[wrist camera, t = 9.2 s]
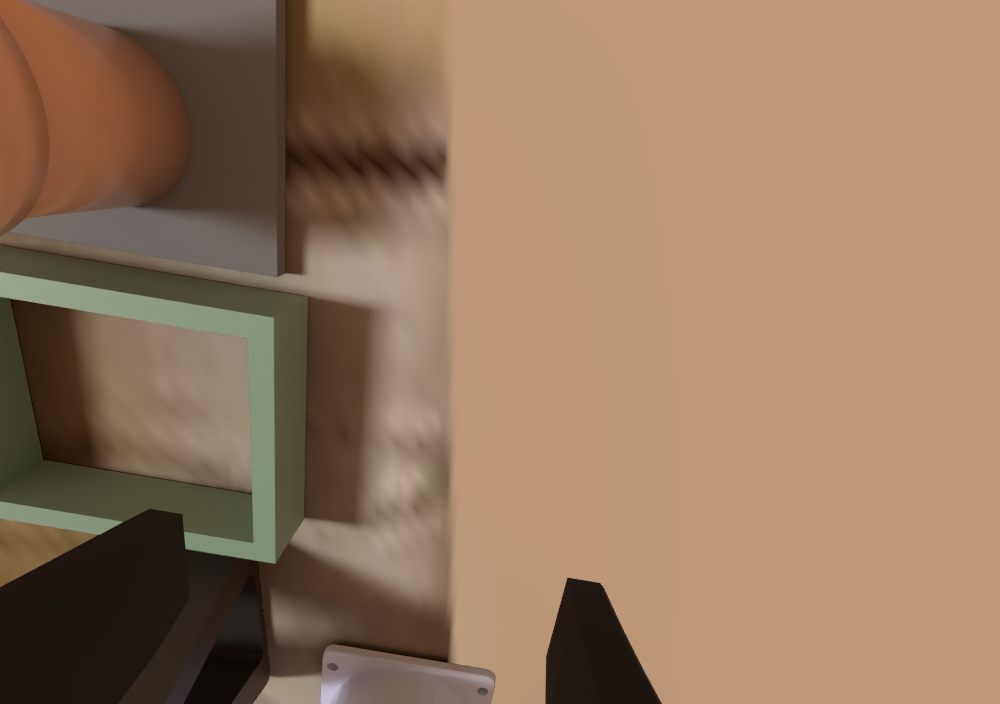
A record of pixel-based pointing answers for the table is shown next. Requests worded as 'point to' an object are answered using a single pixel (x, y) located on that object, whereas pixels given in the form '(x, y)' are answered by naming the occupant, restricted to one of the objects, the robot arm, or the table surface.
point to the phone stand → (211, 639)
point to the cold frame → (120, 496)
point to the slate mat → (203, 136)
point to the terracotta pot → (82, 117)
